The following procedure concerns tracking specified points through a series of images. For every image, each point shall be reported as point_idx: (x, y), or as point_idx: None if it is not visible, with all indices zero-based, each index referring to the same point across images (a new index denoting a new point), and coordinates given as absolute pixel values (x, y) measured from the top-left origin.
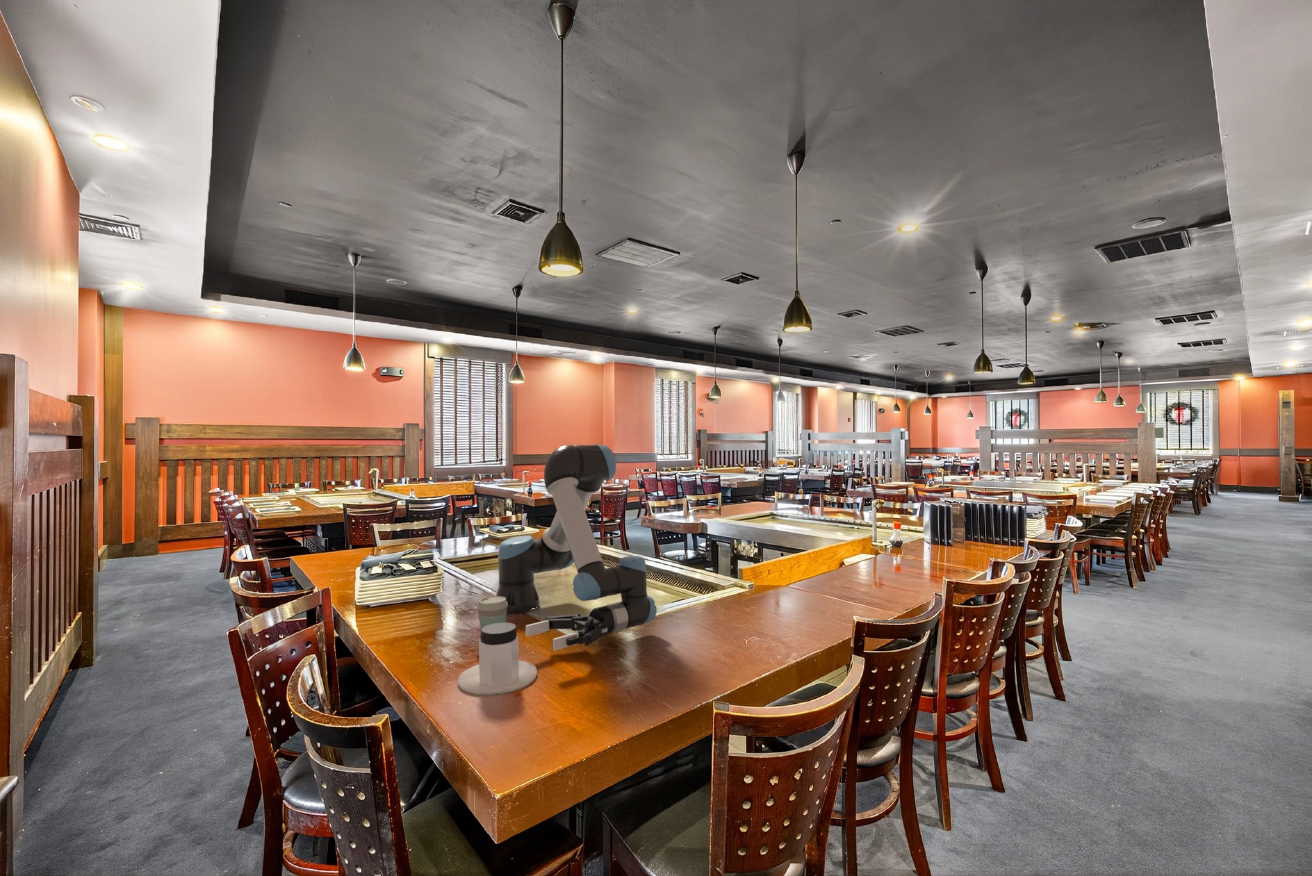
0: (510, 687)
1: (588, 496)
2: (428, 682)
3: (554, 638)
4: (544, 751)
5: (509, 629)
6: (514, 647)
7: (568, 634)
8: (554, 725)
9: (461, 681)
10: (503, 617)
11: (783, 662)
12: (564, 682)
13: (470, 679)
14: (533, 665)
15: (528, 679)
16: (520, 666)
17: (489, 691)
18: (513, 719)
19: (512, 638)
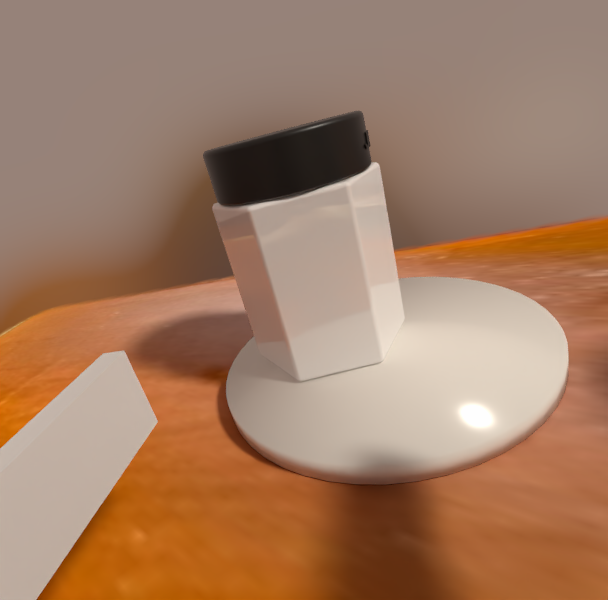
0: (243, 349)
1: None
2: (499, 254)
3: (114, 359)
4: (5, 355)
5: (219, 147)
6: (233, 239)
7: (5, 467)
8: (12, 389)
9: (408, 281)
10: None
11: None
12: (86, 527)
13: (404, 293)
14: (354, 463)
15: (234, 397)
16: (395, 413)
17: None
18: (132, 343)
19: (214, 191)
